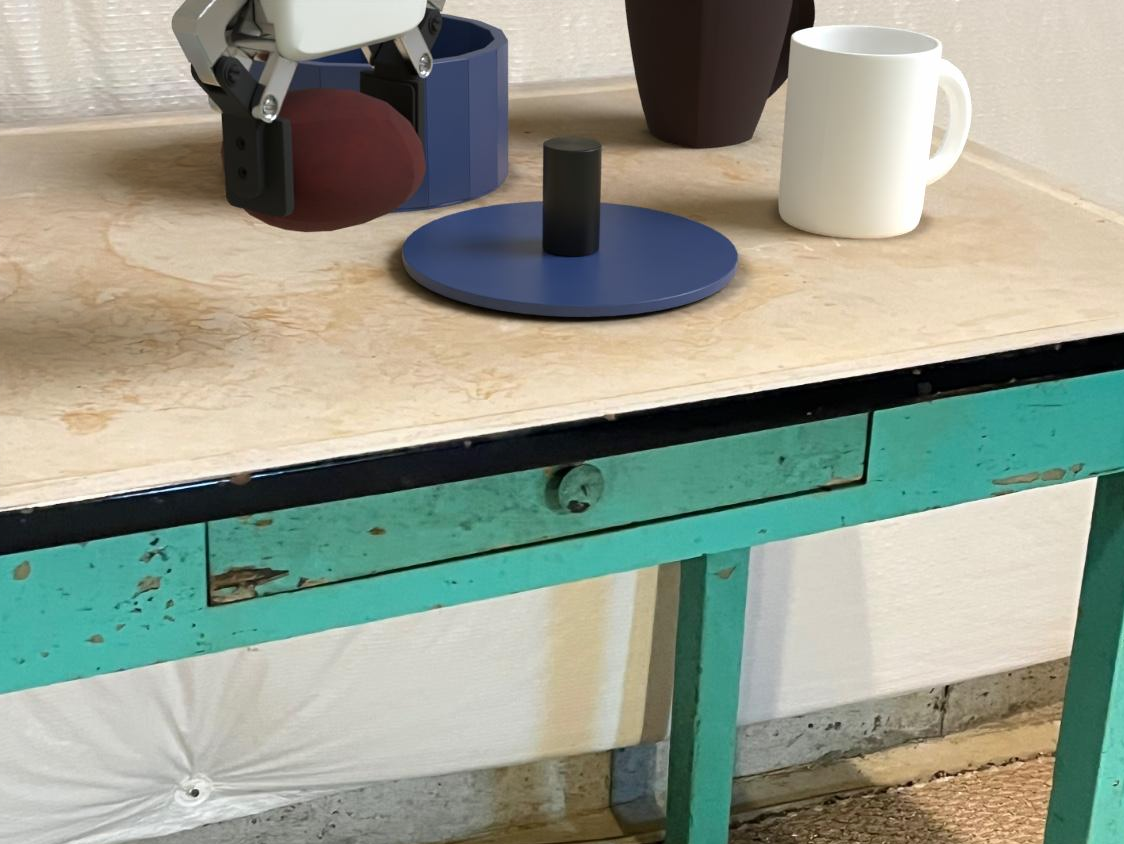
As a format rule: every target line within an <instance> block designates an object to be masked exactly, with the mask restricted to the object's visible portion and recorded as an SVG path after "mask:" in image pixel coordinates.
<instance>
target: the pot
mask: <svg viewBox="0 0 1124 844" xmlns="http://www.w3.org/2000/svg"><path fill="white" fill-rule="evenodd" d="M441 16H442V26H441V30H440V32H439V34H438V36H437V38H436V40H435V42H434V44H433V47H432V49H431V51H430V53H431V55H432V59H433V66H432V70H431V73H430V74H429V76H428V77H426V78H419V80H424V81H425V163H426V172H425V175H424V179H423V183H422V185H421V186H420V187H419V189H418V190H417V191H416V193H415V194H414V195H413V196H412V198H410V199H409V200H407V201H406V202H405V203H403V204H402V205H401V206H399V207H398V208H396V209H395V210H394V211H393V212H391V213H390V214H396V213H411V212H420V211H428V210H434V209H440V208H446V207H451V206H456V205H460V204H463V203H468V202H471V201H474V200H477V199H480V198H483V197H485V196H487V195H489V194H491V193H493V192H495V191H496V190H498V189H499V188H501V186H502V185H503V184H504V183H505V181H506V179H507V176H508V175H509V40H508V37H507V36H506V34H505V32H504V31H503V30H502V29H501V28H499V27H496V26H494V25H491V24H489V23H487V22H485V21H482V20H477V19H473V18H468V17H463V16H458V15H453V14H449V13H441ZM265 64H266V62H262V61H257V60H254V61H253V64H252V66H251V69H250V71H249V73H250V74H251V75H252V76H253V78H254V79H255V80H256V81H257V82H259V80H260V77H261V75H262V72H263V70H264V67H265ZM363 70H372V71H374V69H373V68H372V67H371V66H370V64H369V62H368V61H367V59H366V57H365V55H364V53H363V51H362V49H361V48H358V49H354V50H350V51H346V52H342V53H338V54H334V55H330V56H326V57H322V58H317V59H313V60H307V61H299V63H298V66H297V68H296V71H295V73H294V76H293V78H292V81H291V84H290V86H289V89H288V90H300V89H313V88H331V89H343V90H355V91H358V92H360V71H363Z"/></svg>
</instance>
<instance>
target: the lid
mask: <svg viewBox="0 0 1124 844" xmlns="http://www.w3.org/2000/svg"><path fill="white" fill-rule="evenodd" d="M602 155H603V144H602V143H601V142H600V141H599V140H596V139H593V138H589V137H585V136H584V137H583V136H570V135H569V136H558V137H557V136H556V137H553V138H549V139H547V140H545V141H544V142H543V145H542V200H538V201H536V200H535V201H520V202H509V203H500V204H494V205H487V206H481V207H475V208H470V209H465V210H462V211H461V210H460V211H458V212H454V213H451V214H447V215H445V216H441V217H439V218H436V219H434V220H431V221H429V222H427V223H425V224H423V225H421V226H419V227H418V228H417V229H415V230H414V231H412V233H410V235H408V237H406V239H405V241H404V243H403V244H402V245H403V246H402V252H401V253H402V254H401V257H402V263H403V267H404V269H405V271H406V272H407V274H408V275H409V276H410V277H411V278H412V279H413V280H414V281H415V282H416V283H418V284H419V285H421V286H422V287H424V288H426V289H428V290H430V291H431V292H434V293H436V294H438V295H441V296H443V297H446V298H448V299H452V300H454V301H458V302H461V303H463V304H469V305H472V306H476V307H480V308H485V309H490V310H496V311H502V312H508V313H515V314H521V315H522V314H523V315H532V316H533V315H535V316H542V317H543V316H545V317H563V318H564V317H565V318H597V317H617V316H626V315H628V316H629V315H639V314H644V313H651V312H657V311H658V312H659V311H662V310H668V309H672V308H678V307H680V306H681V307H682V306H684V305H688V304H692V303H694V302H697V301H700V300H702V299H705V298H708V297H710V296H712V295H714V294H716V293H718V292H719V291H721V290H722V289H724V288H726V286H728V285H729V284H730V283H731V281H732V280H733V279H735V277H736V274H737V272H738V269H739V253H738V250H737V249H736V246H735V244H734V243H733V242H732V241H731V240H730V239H729V238H728V237H726V235H724V234H722V233H721V232H719V231H718V230H716V229H714V228H712V227H711V226H709V225H706V224H704V223H701V222H699V221H696V220H694V219H691V218H689V217H685V216H682V215H678V214H675V213H671V212H666V211H663V210H657V209H653V208H647V207H641V206H635V205H627V204H620V203H613V202H612V203H611V202H601V198H602V166H603V165H602V163H603V160H602V157H603V156H602Z"/></svg>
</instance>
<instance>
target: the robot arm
mask: <svg viewBox="0 0 1124 844" xmlns="http://www.w3.org/2000/svg"><path fill="white" fill-rule="evenodd" d="M445 4H446V0H184V2H183V3H182V4H181V5H180V6H179V7H178V8H177V10H176V11H174V14H173V15H172V18H171V29H172V32H173V34H174V36H175V38H176V40H177V43H178V44H179V46H180V48H181V50H182V52H183V54H184V56H185V58H186V60H187V62H188V63H189V64H190V74H191V77H192V78H193V80H194V81H195V82H196V83H197V85H198V86H199V87H200V88H201V89H202V90H203V91H204V92H205V94H206V95H207V98H208V100H207V102H208V105H209V107H210V109H211V110H212V111H214V112H216V113H220V116H221V133H222V141H223V152H224V169H225V174H224V185H225V186H224V187H225V198H226V201H227V202H228V204H229V205H230V206H231V207H234V208H238V209H243V210H244V209H246V210H250V211H254V212H258V213H262V214H266V215H270V216H274V217H278V218H281V217H284V216H287V215H290V214H291V213H292V212H293V208H294V184H293V158H292V131H291V125H290V119H285V118H280V117H277V116H278V114H279V112H280V109H281V107H282V104H283V102H284V99H285V96H286V94H287V91H288V89H289V86H290V84H291V81H292V78H293V76H294V73H295V71H296V68H297V66H298V63H299V61H307V60H313V59H317V58H322V57H326V56H330V55H334V54H338V53H342V52H346V51H350V50H354V49H358V48H361V49H362V51H363V53H364V55H365V57H366V59H367V61H368V62H369V64H370V66H371V67H372V68H373V69H374V71H372V70H363V71H360V93H363V94H366V95H369V96H371V97H374V98H377V99H379V100H382V101H385V102H387V103H388V104H390V105H391V106H392V107H393V108H394V109H395V110H397V111H398V112H399V113H400V114H401V115H403V116H404V117H405V118H406V119H407V120H408V121H410V123H411V124H412V126H413V128H414V130H415V132H416V133H417V135H418V137H419V139H420V140H421V142H422V147H423V152H424V158H425V81H424V80H419V78H426V77H428V76H429V74H430V73H431V70H432V66H433V59H432V55H431V53H430V51H431V49H432V47H433V44H434V42H435V40H436V38H437V36H438V34H439V32H440V30H441V26H442V16H441V14H442V13H443V11H444V7H445ZM254 60H257V61H262V62H266V64H265V67H264V70H263V72H262V75H261V77H260V80H259V82H257V81H256V80H255V79H254V78H253V76H252V75H251V74H250V73H249V71H250V69H251V66H252V64H253V61H254Z"/></svg>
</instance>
